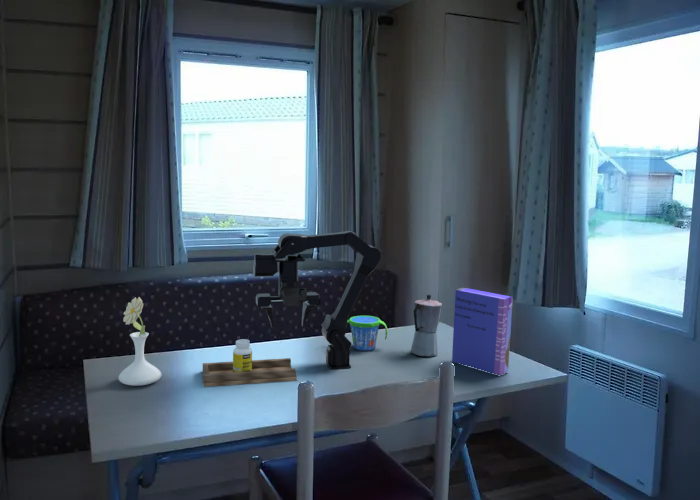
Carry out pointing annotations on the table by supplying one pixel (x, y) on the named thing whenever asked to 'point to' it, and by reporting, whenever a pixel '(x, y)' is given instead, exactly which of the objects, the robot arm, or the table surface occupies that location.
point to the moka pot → (426, 327)
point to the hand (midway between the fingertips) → (287, 327)
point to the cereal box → (482, 330)
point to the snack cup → (365, 331)
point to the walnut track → (248, 373)
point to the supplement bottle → (242, 356)
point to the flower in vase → (138, 350)
